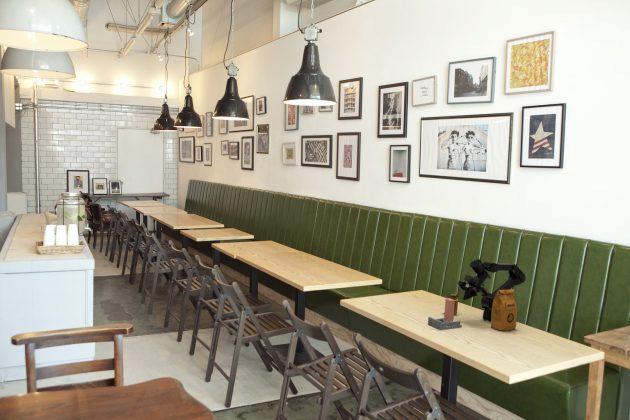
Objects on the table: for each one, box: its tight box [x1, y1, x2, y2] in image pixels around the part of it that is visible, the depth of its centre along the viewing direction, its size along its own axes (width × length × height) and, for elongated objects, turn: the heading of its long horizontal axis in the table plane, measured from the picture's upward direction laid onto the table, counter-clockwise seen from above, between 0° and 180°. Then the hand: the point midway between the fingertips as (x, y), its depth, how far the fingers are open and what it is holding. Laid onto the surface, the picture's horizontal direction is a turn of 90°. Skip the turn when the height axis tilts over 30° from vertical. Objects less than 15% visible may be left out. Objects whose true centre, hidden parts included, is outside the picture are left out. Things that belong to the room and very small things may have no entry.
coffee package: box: [490, 288, 518, 331], centre depth 290 cm, size 10×12×22 cm
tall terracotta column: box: [443, 298, 455, 323], centre depth 292 cm, size 3×5×13 cm, turn 28°
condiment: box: [441, 293, 461, 317], centre depth 315 cm, size 7×8×12 cm
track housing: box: [427, 316, 463, 331], centre depth 291 cm, size 15×10×4 cm
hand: (463, 299), depth 296 cm, fingers closed
